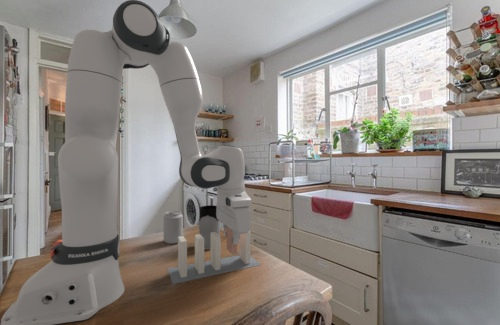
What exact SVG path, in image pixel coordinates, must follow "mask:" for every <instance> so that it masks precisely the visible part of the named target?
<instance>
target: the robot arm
mask: <svg viewBox="0 0 500 325" xmlns="http://www.w3.org/2000/svg"><path fill="white" fill-rule="evenodd" d="M149 65H150V67H151V68H152V69H153V71H154V73H155V74H156V76H157V79H158V83H159V88H160V91H161V94H162V98H163V100H164V103H165V106H166V108H167V110H168V113H169V117H170V120H171V123H172V125H173V129H174V133H175V137H176V141H177V145H178V151H179V154H180V155H179V156H180V161H179V168H178V174H179V178H180V179H181V181H182V182H183V183H184V184H185V185H187V186H190V187H193V188H194V187H195V188H198V189H203V190H207V189H211V188H216V206H217V207H216V217H217V219H218V220H219V221H220V223H222V229H223V231H224V232H223V233H224V237H225V238H226V239H227V230H226V226H227V227H229V228H230V229H232V230H233V237H232V243H233V244H237V245H238V244H240V234H246V233H248V232H249V231H251V222H252V221H251V219H252V218H251V217H252V216H251V214H252V213H251V208H250V207H251V206H252V205H253V204H252V203H253V202H252V198H251V197H250V196H249V195H248V194H247V191H246V186H245V185H246V184H245V180H244V179H245V175H246V174H245V173H246V166H245V156H244V152H243V150H242V149H241V148H240V147H239V146H236V145H235V146H234V145H231V144H230V145H229V144H221V145H219V146H217V147H216V148H215V149H214V150H212V151H210V152H208V153H206V154H205V153H204V154H202V153H201V151H200V146H199V142H198V137H197V131H196V122H197V119H198V116H199V114H200V112H201V110H202V107H203V105H204V98H203V96H204V95H203V88H202V85H201V81H200V80H201V79H200V77H199V73H198V70H197V67H196V63H195V62H194V60H193V57H192V54H191V53H190V50H189V49H188V47H187V46H186V45H185V44H183V43H181V42H179V41H171V33H170V31H169V30H168V29H167V27H165V25H164V24H163V21H162V20H161V18H160V16H159V14H157V12H156V11H155V10H154V9H153V8H152V7H151V6H150V5H149V4H147V3H145V2H143V1H141V0H126V1H123V2H122V3H121V4H120V5H119V6H118V7H117V8H116V10H115V12H114V14H113V18H112V28H111V30H108V31H99V30H96V29H84V30H81V31H79V32H77V33H76V35H75V37H74V39H73V42H72V45H71V48H70V52H69V56H68V62H67V70H66V71H67V72H66V86H65V97H64V98H65V100H64V115H65V116H64V117H65V120H64V122H65V124H64V126H65V127H64V128H65V131H64V143H63V145H62V146H61V147H60V149H59V150H58V156H57V165H58V166H57V167H58V168H57V169H58V170H57V171H58V185H59V196H60V203H61V239H58V240H56V241H55V242H54V243H53V244H52V248H51V251H50V252H49V253H50V254H49V256H50V257H49V258H51V260H50V261H49V262H48V263H47V264H46V265H44V266H43V267H42V268H40V269H39V270H37V271H36V272H34V274H32V275H31V276H30V277H29V278H28V279H27V280H26V281H25V282H24V284H23V285H22V286H21V288H20V291H19V293H18V296H17V298H16V299H17V300H15V301H14V302H13V303H12V304H11V305H10V306H9V307H8V308H7V309H6V310H5V312H4V313H3V315H2V316H1V320H0V325H59V324H65V323H73V322H78V321H79V322H80V321H85V320H88V319H90V318H91V317H93V316H94V315H95V314H97V313H98V311H100V310H101V309H103V308H105V307H107V306H109V305H111V304H112V303H114V302H115V301H117V300H118V299H119V298H120V297H121V296H123V295H124V292H125V285H124V282H123V279H122V275H121V270H120V264H119V258H120V254H121V253H120V246H121V245H120V242H121V241H120V237H119V234H118V219H117V218H118V213H117V212H118V209H117V208H118V206H117V205H118V185H119V183H118V182H119V179H118V178H119V155H118V151H117V140H118V139H117V138H118V132H119V131H118V129H119V121H120V113H121V112H120V111H121V110H120V109H121V96H122V80H123V79H122V77H123V70H126V69H134V70H135V69H137V70H138V69H143V68H146V67H147V66H149Z"/></svg>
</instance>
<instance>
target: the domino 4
mask: <svg viewBox="0 0 500 325" xmlns="http://www.w3.org/2000/svg"><path fill="white" fill-rule="evenodd" d="M226 230H227V238H226V250H227V251H228V252H229V253H230V254H231V256H234V255H237V254H238V244H233V243H232V237H233V230H232V229H230V228H229V227H227V226H226Z"/></svg>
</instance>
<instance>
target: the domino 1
mask: <svg viewBox="0 0 500 325" xmlns="http://www.w3.org/2000/svg"><path fill="white" fill-rule="evenodd" d="M187 265H188V241H187V239H186V237H185V236H184V235H183V236H181V237H178V243H177V267H178V271H179V274H180V276H181V278H182V277H187Z"/></svg>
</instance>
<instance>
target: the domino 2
mask: <svg viewBox="0 0 500 325" xmlns="http://www.w3.org/2000/svg"><path fill="white" fill-rule="evenodd" d="M204 262H205V249H204V238H203V237H202V236H201V235H200V234H199V233H196V234H194V263H195V268H196V270H197V272H198V273H199V274H201V273H204Z"/></svg>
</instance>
